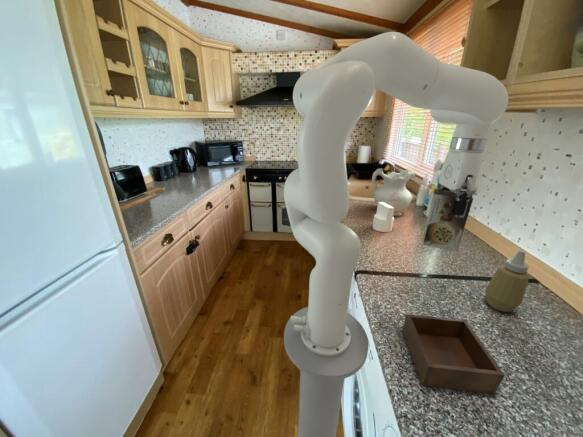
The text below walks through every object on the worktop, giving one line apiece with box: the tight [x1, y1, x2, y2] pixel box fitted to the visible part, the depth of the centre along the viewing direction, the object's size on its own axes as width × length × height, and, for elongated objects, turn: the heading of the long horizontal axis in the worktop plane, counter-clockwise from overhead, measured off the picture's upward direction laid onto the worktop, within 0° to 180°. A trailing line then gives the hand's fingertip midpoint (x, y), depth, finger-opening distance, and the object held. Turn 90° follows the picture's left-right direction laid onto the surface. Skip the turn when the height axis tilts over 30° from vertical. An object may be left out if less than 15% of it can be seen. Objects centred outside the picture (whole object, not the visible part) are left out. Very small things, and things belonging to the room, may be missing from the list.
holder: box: [401, 314, 505, 395], centre depth 53 cm, size 14×14×6 cm
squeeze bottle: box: [485, 249, 530, 313], centre depth 67 cm, size 8×8×18 cm
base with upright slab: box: [372, 202, 395, 233], centre depth 116 cm, size 9×9×12 cm
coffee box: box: [421, 188, 474, 252], centre depth 70 cm, size 9×6×16 cm
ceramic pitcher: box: [371, 167, 416, 217], centre depth 134 cm, size 22×20×25 cm
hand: (448, 208), depth 69 cm, fingers closed on coffee box, 7 cm apart
